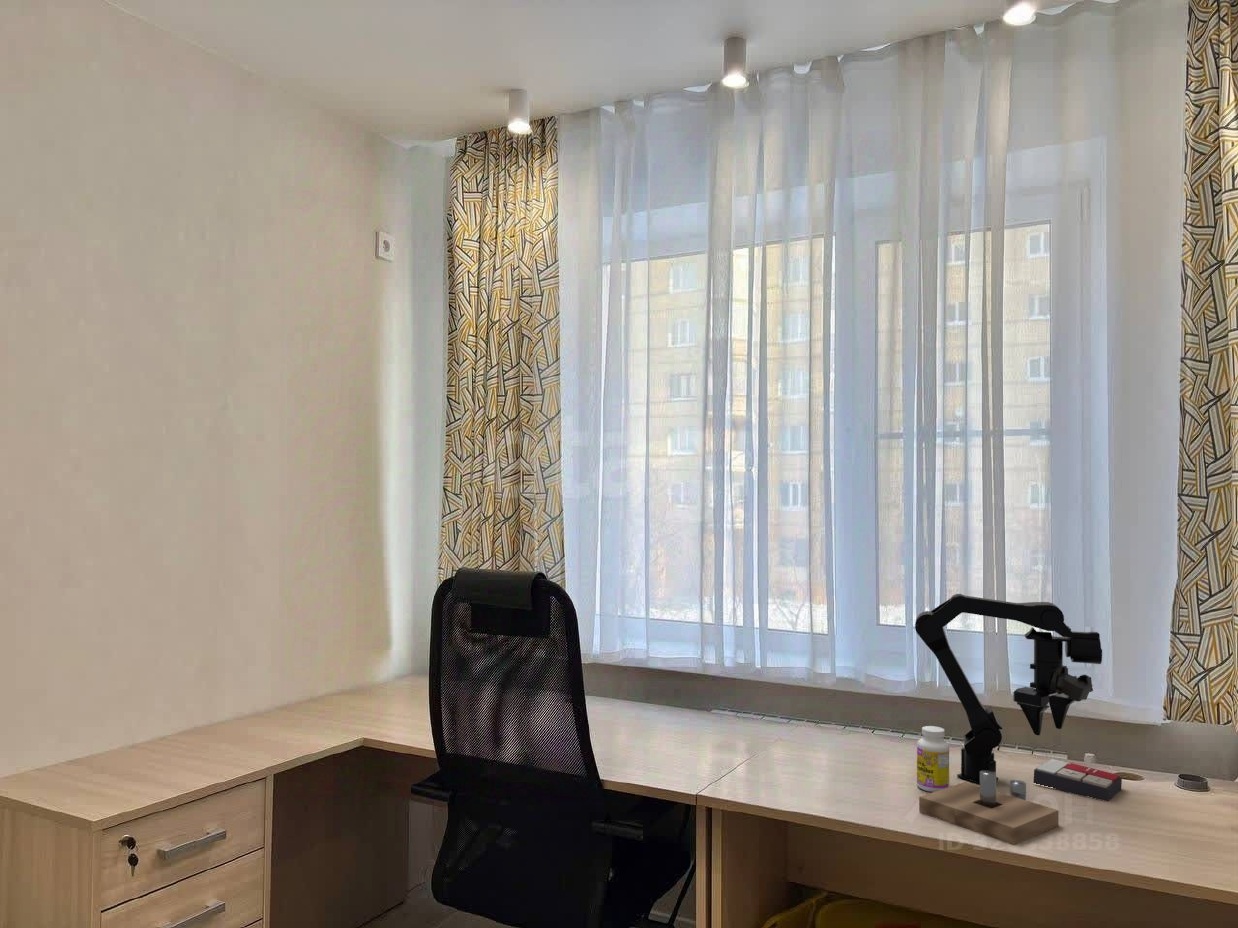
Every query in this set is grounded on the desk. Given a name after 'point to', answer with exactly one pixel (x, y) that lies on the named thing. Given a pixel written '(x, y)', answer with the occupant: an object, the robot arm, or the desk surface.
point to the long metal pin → (988, 789)
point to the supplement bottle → (932, 760)
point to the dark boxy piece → (1078, 779)
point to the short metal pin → (1018, 789)
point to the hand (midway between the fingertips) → (1048, 731)
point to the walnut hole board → (989, 813)
